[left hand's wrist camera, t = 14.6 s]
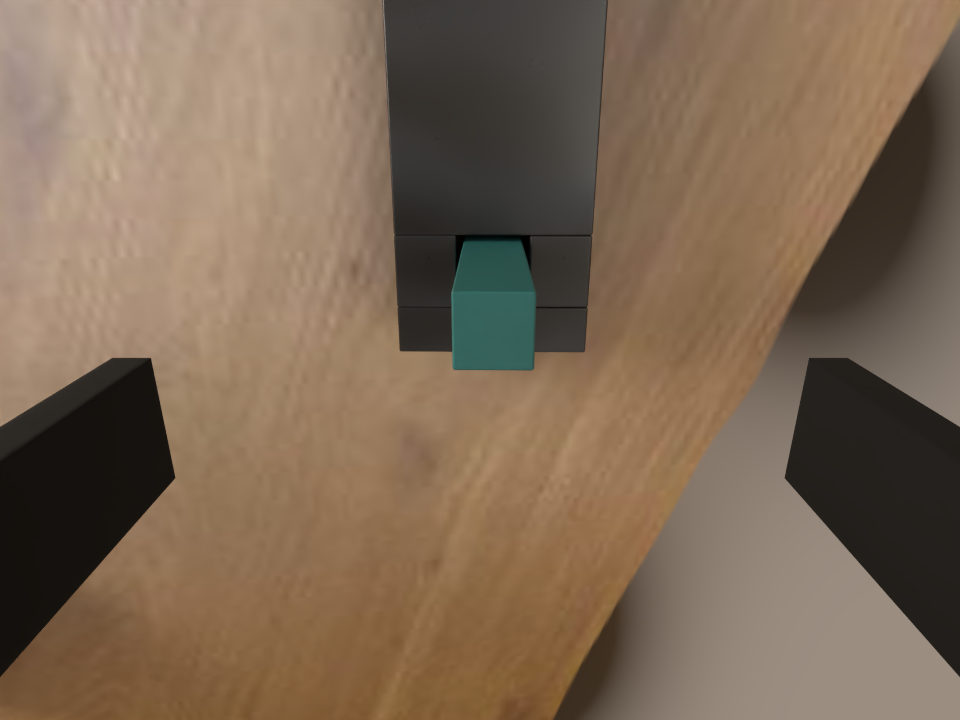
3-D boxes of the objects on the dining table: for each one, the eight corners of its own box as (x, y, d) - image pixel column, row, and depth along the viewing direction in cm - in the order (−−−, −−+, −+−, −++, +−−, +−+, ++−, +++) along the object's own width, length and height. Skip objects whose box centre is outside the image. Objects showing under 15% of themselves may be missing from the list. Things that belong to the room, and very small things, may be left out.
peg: (517, 278, 29) (534, 371, 18) (467, 277, 29) (452, 370, 18) (518, 227, 28) (536, 291, 17) (466, 227, 28) (451, 291, 17)
